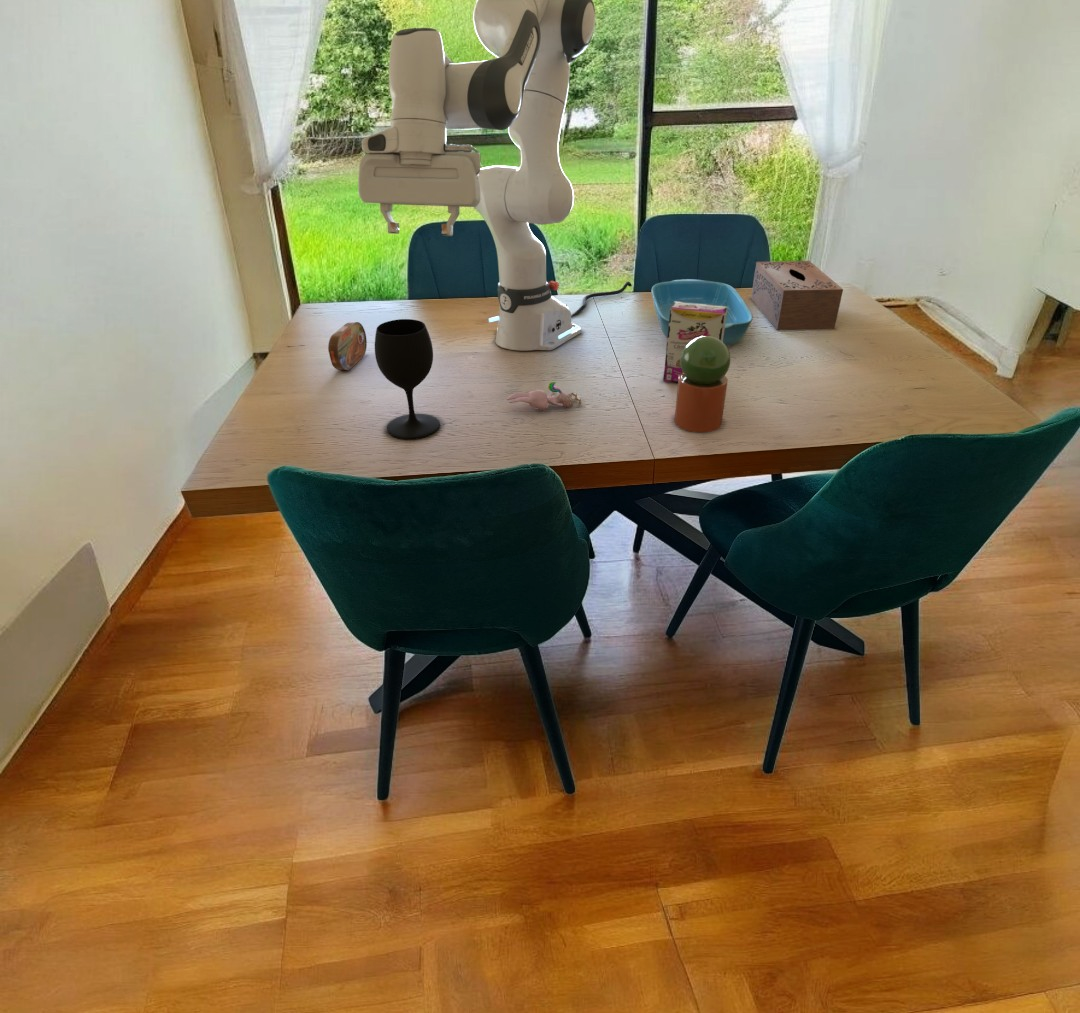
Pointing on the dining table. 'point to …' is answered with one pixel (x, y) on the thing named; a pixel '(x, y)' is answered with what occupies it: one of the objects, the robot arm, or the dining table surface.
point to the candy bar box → (690, 331)
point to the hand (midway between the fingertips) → (420, 234)
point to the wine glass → (406, 371)
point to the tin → (347, 346)
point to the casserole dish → (703, 294)
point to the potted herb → (702, 385)
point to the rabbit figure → (545, 398)
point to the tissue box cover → (796, 295)
